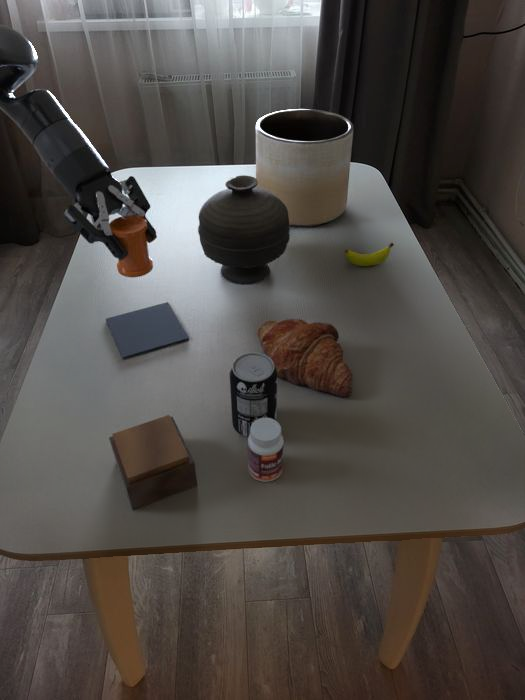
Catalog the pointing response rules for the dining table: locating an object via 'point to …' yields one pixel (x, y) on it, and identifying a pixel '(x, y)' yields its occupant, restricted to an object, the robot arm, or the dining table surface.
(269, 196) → the pot
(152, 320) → the mat
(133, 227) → the spool
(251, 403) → the beverage can
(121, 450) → the wooden box
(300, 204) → the planter
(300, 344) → the pastry
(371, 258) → the fruit
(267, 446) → the pill bottle
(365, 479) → the dining table surface
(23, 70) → the robot arm
